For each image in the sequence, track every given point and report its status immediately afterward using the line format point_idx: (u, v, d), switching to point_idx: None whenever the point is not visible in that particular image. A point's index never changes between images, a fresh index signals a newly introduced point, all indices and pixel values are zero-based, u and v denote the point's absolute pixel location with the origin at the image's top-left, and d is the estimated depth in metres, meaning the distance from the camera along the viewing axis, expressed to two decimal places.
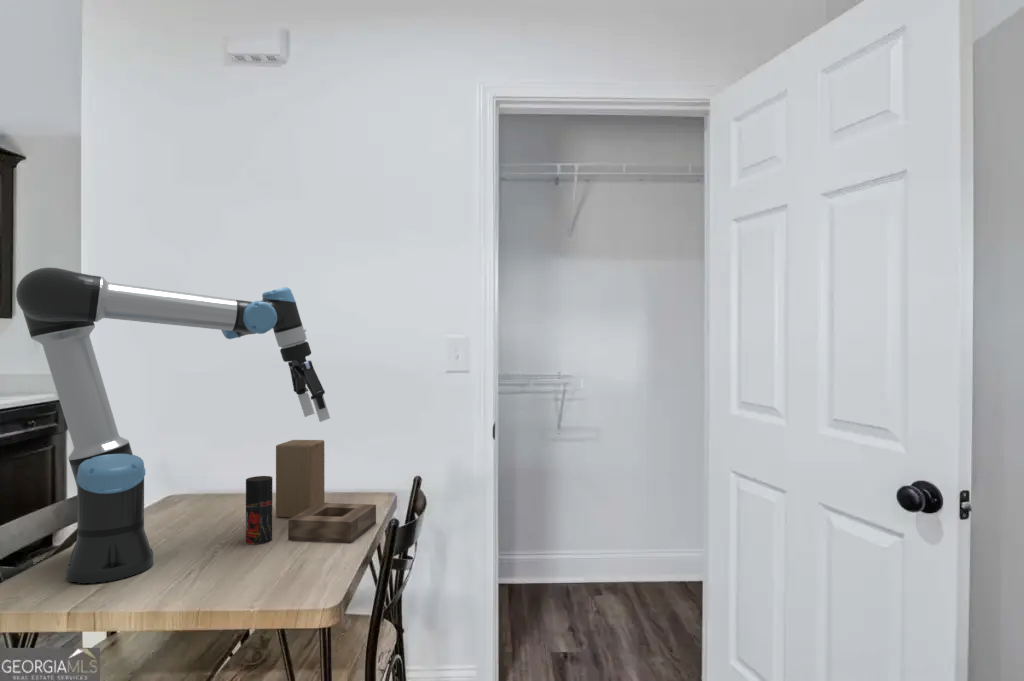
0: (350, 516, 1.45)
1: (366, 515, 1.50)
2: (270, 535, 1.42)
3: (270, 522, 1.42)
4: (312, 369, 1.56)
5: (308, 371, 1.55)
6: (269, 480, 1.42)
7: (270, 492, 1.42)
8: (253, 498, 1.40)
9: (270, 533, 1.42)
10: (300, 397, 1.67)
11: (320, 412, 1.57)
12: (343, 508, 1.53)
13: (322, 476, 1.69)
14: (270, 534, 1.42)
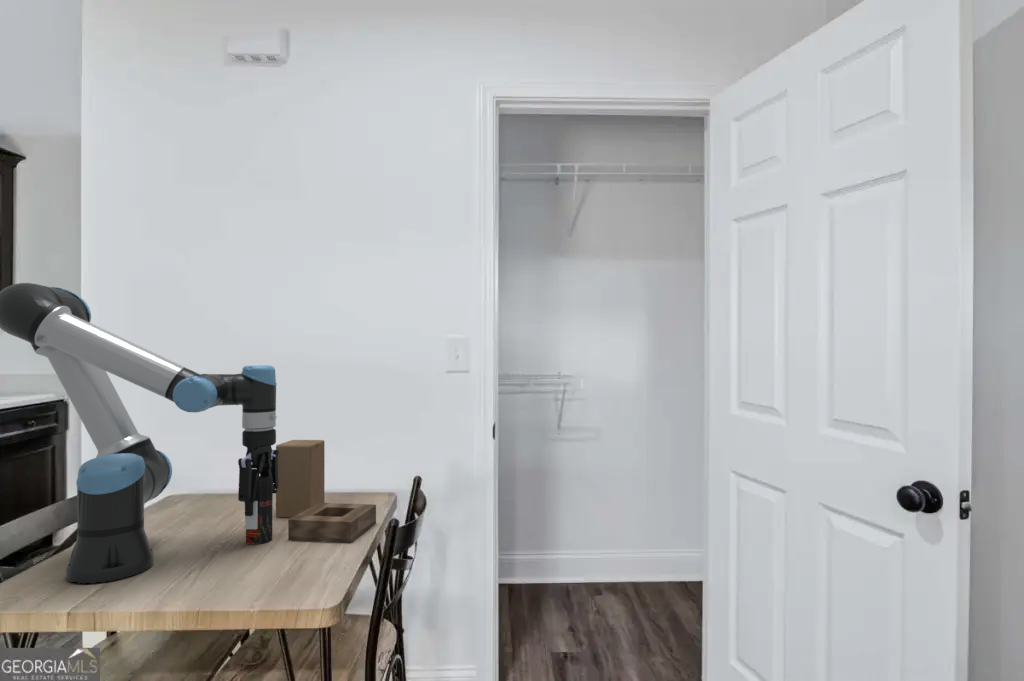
0: (350, 516, 1.45)
1: (366, 515, 1.50)
2: (270, 535, 1.42)
3: (270, 522, 1.42)
4: (247, 470, 1.37)
5: (242, 470, 1.37)
6: (269, 480, 1.42)
7: (270, 492, 1.42)
8: None
9: (270, 533, 1.42)
10: None
11: (247, 519, 1.39)
12: (343, 508, 1.53)
13: (322, 476, 1.69)
14: (270, 534, 1.42)
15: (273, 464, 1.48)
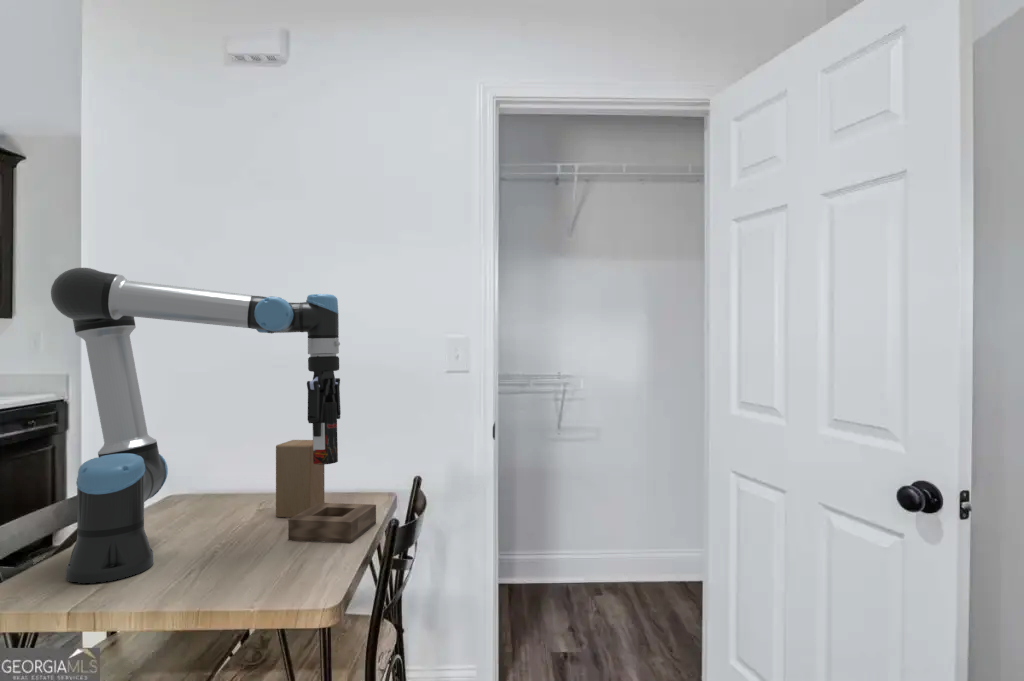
0: (350, 516, 1.45)
1: (366, 515, 1.50)
2: (336, 456, 1.48)
3: (336, 444, 1.48)
4: (315, 391, 1.43)
5: (311, 392, 1.43)
6: (334, 404, 1.48)
7: (335, 415, 1.48)
8: None
9: (336, 455, 1.48)
10: None
11: (315, 440, 1.45)
12: (343, 508, 1.53)
13: (322, 476, 1.69)
14: (336, 455, 1.48)
15: (335, 391, 1.54)
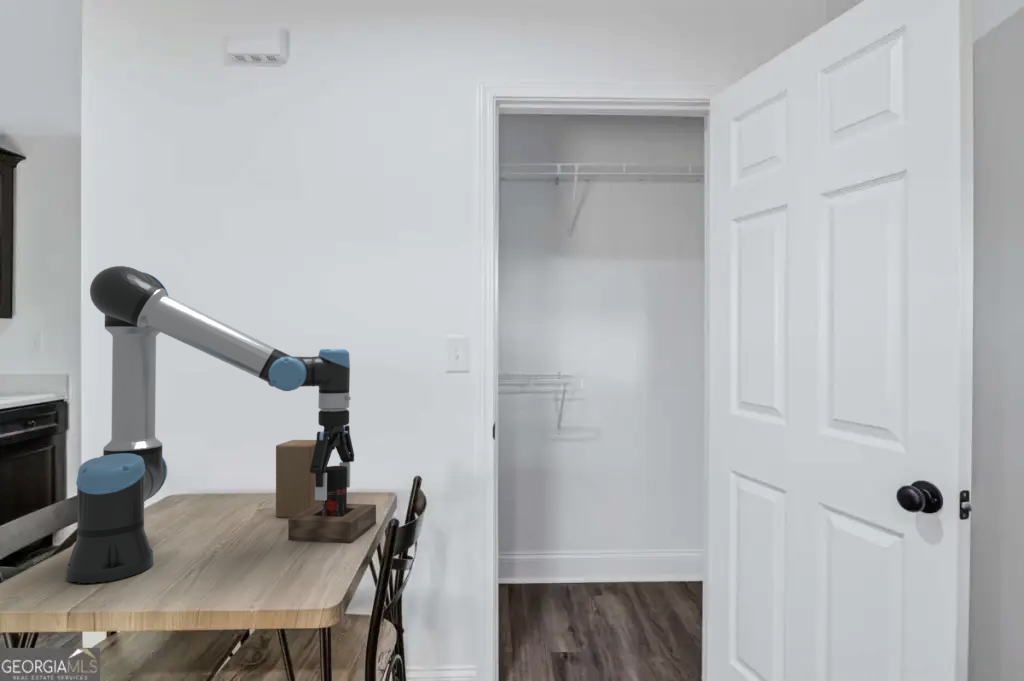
0: (350, 516, 1.45)
1: (366, 515, 1.50)
2: None
3: (345, 510, 1.49)
4: (323, 442, 1.42)
5: (319, 442, 1.43)
6: (345, 469, 1.49)
7: (345, 481, 1.49)
8: (331, 486, 1.47)
9: None
10: (340, 465, 1.56)
11: (317, 490, 1.42)
12: None
13: None
14: None
15: (347, 439, 1.56)
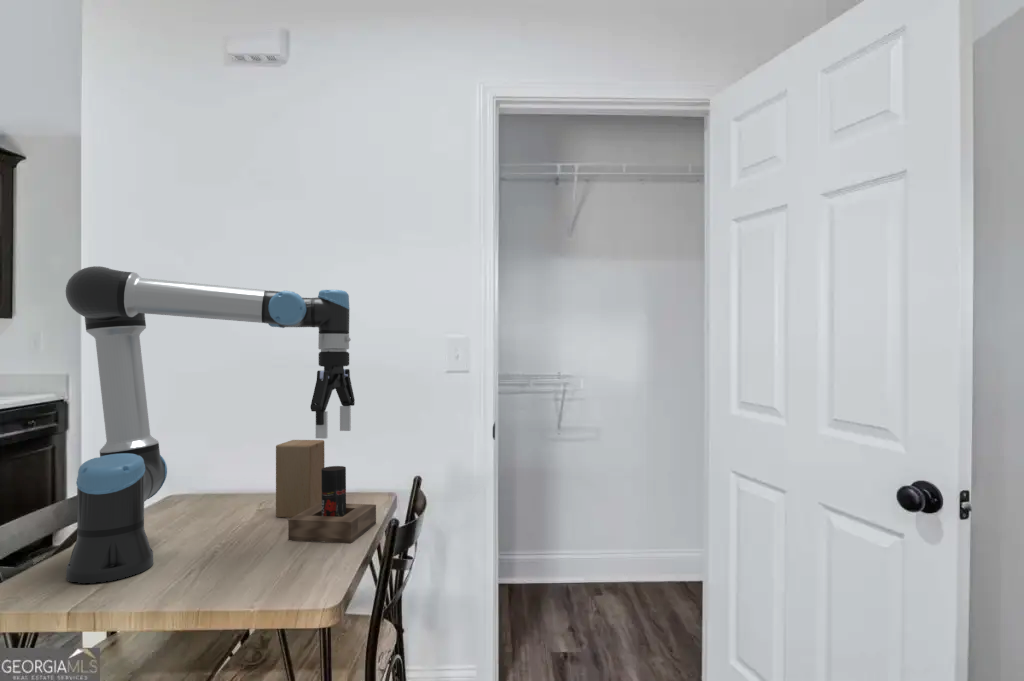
0: (350, 516, 1.45)
1: (366, 515, 1.50)
2: None
3: (344, 510, 1.49)
4: (324, 380, 1.43)
5: (319, 381, 1.43)
6: (343, 470, 1.49)
7: (344, 481, 1.49)
8: (330, 487, 1.46)
9: None
10: (341, 408, 1.56)
11: (318, 429, 1.43)
12: None
13: None
14: None
15: (347, 382, 1.56)
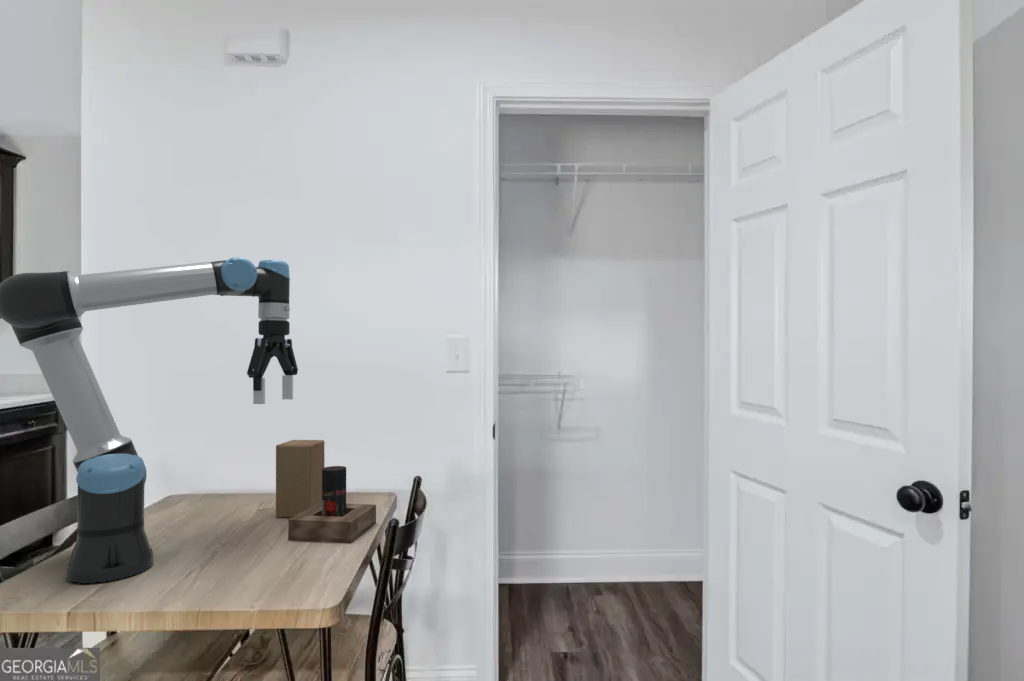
0: (350, 516, 1.45)
1: (366, 515, 1.50)
2: None
3: (345, 510, 1.49)
4: (261, 347, 1.46)
5: (257, 348, 1.46)
6: (344, 470, 1.49)
7: (345, 481, 1.49)
8: (330, 487, 1.46)
9: None
10: (283, 378, 1.60)
11: (255, 394, 1.46)
12: None
13: None
14: None
15: (289, 352, 1.60)
